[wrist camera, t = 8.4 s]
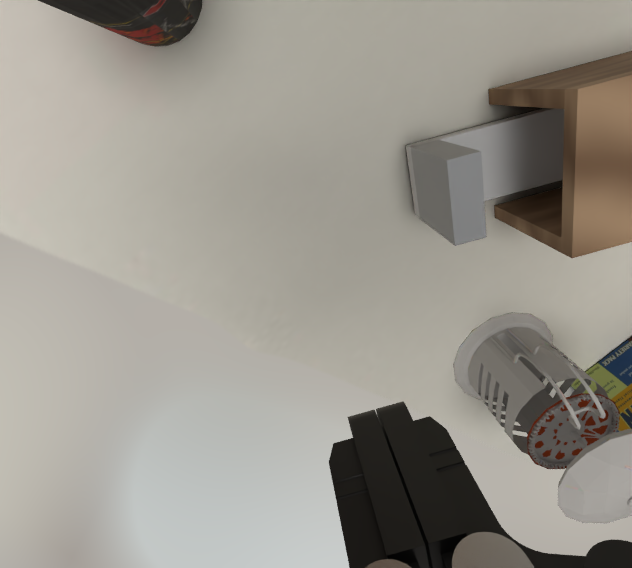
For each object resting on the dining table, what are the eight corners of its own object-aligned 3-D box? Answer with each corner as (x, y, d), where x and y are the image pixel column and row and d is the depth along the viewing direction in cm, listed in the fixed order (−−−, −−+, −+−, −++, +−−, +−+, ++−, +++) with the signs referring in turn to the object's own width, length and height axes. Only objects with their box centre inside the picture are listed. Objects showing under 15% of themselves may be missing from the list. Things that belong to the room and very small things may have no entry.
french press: (469, 415, 42) (717, 787, 20) (433, 327, 37) (711, 690, 15) (561, 373, 42) (927, 708, 19) (538, 277, 37) (996, 579, 14)
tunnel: (488, 89, 30) (578, 89, 21) (638, 49, 30) (782, 34, 22) (495, 217, 34) (571, 258, 26) (626, 181, 34) (744, 210, 26)
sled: (405, 145, 30) (446, 160, 24) (777, 45, 30) (913, 34, 24) (415, 215, 32) (455, 245, 26) (760, 120, 33) (882, 128, 26)
